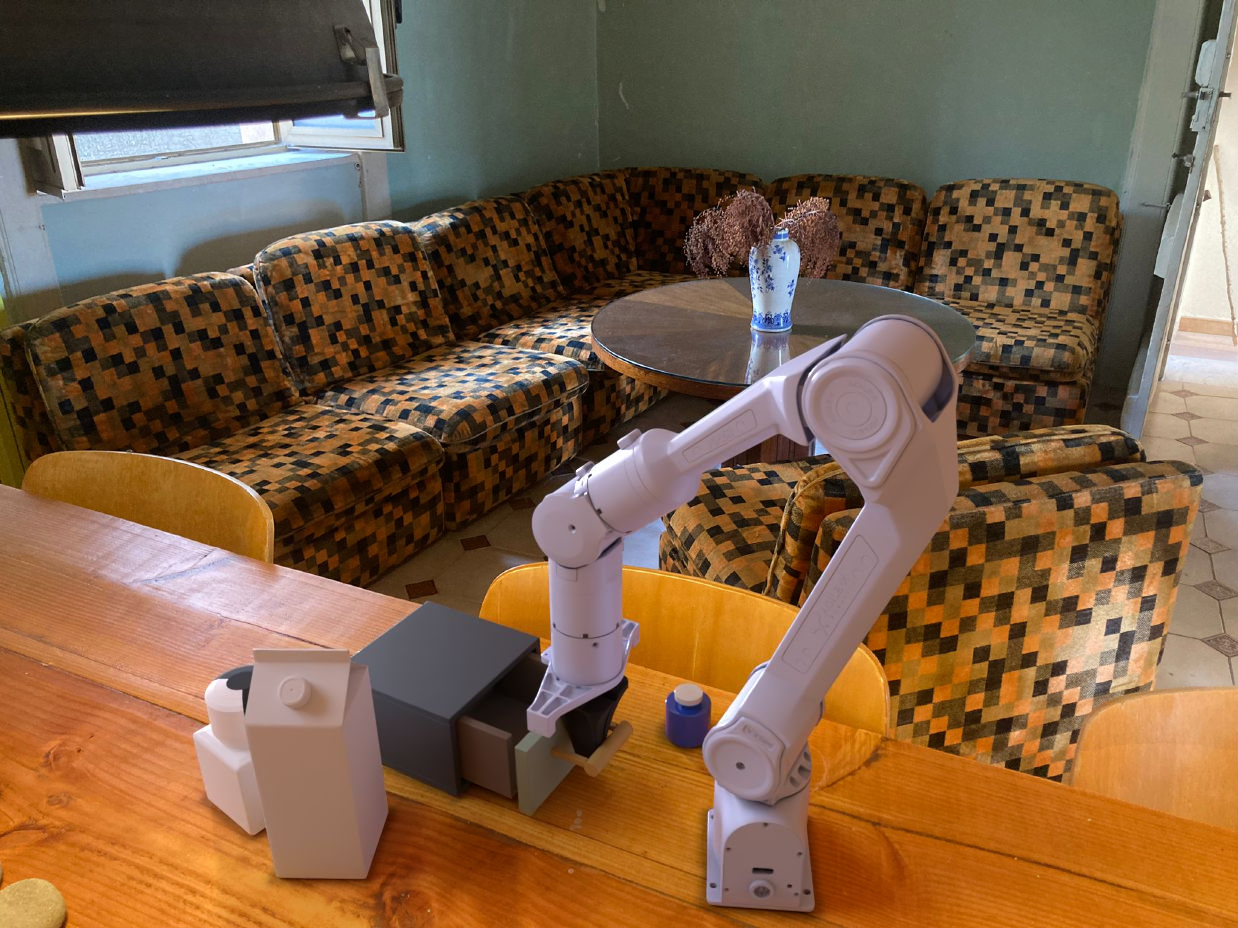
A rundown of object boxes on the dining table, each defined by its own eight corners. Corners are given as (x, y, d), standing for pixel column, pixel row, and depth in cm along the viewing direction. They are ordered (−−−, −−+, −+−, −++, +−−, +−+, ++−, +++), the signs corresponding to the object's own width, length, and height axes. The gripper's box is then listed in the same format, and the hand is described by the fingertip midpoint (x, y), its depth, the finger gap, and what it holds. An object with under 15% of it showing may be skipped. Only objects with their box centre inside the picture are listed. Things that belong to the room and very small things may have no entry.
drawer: (650, 746, 87) (650, 686, 84) (579, 837, 77) (577, 771, 75) (496, 690, 95) (492, 632, 92) (414, 765, 85) (406, 704, 82)
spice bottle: (710, 749, 88) (711, 707, 86) (664, 746, 88) (664, 705, 86) (710, 719, 92) (712, 678, 90) (666, 717, 92) (666, 676, 90)
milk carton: (306, 811, 82) (270, 621, 74) (389, 812, 81) (362, 622, 73) (276, 879, 75) (233, 678, 67) (366, 880, 75) (334, 679, 67)
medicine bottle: (279, 754, 88) (257, 644, 83) (326, 789, 84) (305, 676, 79) (206, 799, 83) (178, 685, 78) (252, 838, 79) (225, 720, 74)
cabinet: (544, 709, 93) (540, 637, 90) (457, 797, 83) (449, 719, 79) (435, 669, 99) (428, 600, 96) (342, 747, 89) (329, 671, 85)
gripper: (590, 564, 84) (592, 690, 90) (491, 650, 73) (500, 788, 78) (662, 586, 81) (659, 715, 87) (570, 679, 70) (573, 821, 75)
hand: (588, 752), depth 82 cm, fingers closed, pressing on drawer
